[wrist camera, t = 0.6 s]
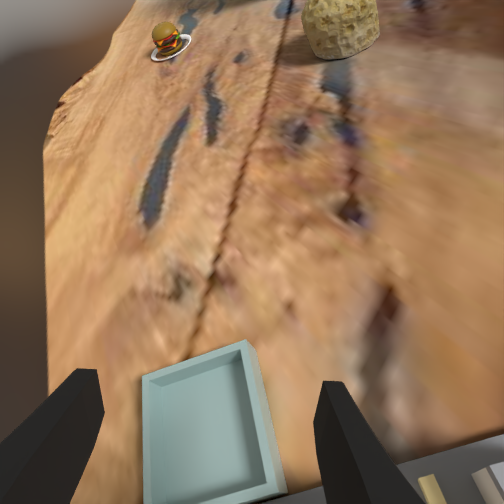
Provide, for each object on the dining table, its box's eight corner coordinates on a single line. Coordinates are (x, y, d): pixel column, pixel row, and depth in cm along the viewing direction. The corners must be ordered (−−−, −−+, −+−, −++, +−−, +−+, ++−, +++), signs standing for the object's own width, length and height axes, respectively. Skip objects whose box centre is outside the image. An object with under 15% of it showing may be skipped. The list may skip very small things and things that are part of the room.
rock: (358, 86, 51) (395, 12, 43) (285, 57, 51) (308, -23, 43) (367, 53, 56) (402, -19, 48) (301, 27, 57) (324, -50, 48)
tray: (288, 493, 24) (278, 492, 22) (163, 529, 25) (143, 530, 23) (255, 350, 30) (245, 339, 28) (158, 384, 31) (142, 375, 29)
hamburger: (169, 37, 78) (156, 10, 73) (211, 33, 71) (199, 3, 67) (136, 71, 73) (120, 44, 69) (178, 69, 67) (163, 40, 63)
